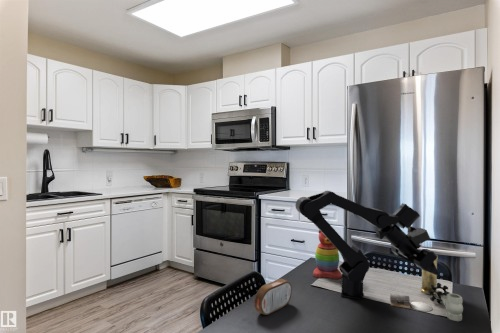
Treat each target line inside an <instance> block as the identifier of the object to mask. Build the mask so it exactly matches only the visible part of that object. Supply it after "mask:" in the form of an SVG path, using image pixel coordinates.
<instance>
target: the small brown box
mask: <svg viewBox="0 0 500 333" xmlns="http://www.w3.org/2000/svg"><path fill="white" fill-rule="evenodd" d="M410 299H411V298H410V295H405V294H396V293H390V294H389V302H390V306H391V307H396V308H397V307H398V308H404V309H411V306H410V303H411V302H410Z"/></svg>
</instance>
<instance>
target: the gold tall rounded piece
mask: <svg viewBox="0 0 500 333" xmlns="http://www.w3.org/2000/svg"><path fill="white" fill-rule="evenodd" d="M436 255H437V258H436V259H435V260H434V264H435V266H436V268H437V269H438V259H439V258H438V257H439V255H438V254H436ZM437 278H438V275H435V274H432V273H430V272H428V271H425V270H423V269H421V287H420V292H421V293H422V294H424V295H427V296H430V295H429V294H428V293H427V292H428V291H432V288H431V287H430V286H431V285H433V286H435V287H436V286H437V283H438V281H437ZM435 291H438V289H436V290H435ZM434 296H437V295H436V293H435V292H434Z"/></svg>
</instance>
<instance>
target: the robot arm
mask: <svg viewBox="0 0 500 333" xmlns="http://www.w3.org/2000/svg"><path fill="white" fill-rule="evenodd" d="M329 205H334V206H335V207H338V208H339V209H340V208H341V209H343V210H345V211H348V212H349V213H352V214H354V215H356V216H357V217H359V218H361V219H362V220H363V221H365V222H366V223H368V224H370V225H372V226H373V227H375V228H378V229H376V230H375V238H378V239H379V240H382V239H384V238H385V239H386V240H387V241H388V242H389V243H390V249H391V252H392V253H393V254H394V255H397V256H398V257H399V258H401V259H404V260H406V261H408V262H411V263H413V264H415V265H416V267H417V268H419V269H420V270H422V269H423V270H425V271H428V272H430V273H432V274H435V275H437V276H438V274H440V273H439V270H438V267H437V268H436V266H435V264H434V260H435V259H436V258H437V255H438V254H436V253H435V252H434V251H432V250H430V249H427V248H422V249H421V250H420V248H421V247H422V244H423V243H425V242H426V241H429V240H431V237H430V234H429V233H428V231H427V229H424V228H421V227H415V226H412V225H413V224H414V223H416V221H417V220H418V219H419V218H420V217H421V216H420V214H419V212H418V211H417V210H415V209H413V208H412V207H411V206H409V205H407V203H403V202H402V203H401V204H400V205H399V207H398V208H397V209H396V210H395V211H394V212H393V213H390V212H386V211H383V210H380V209H378V208H374V207H369V206H364V205H362V204H359V203H356V202H354V201H352V200H350V199H348V198H345V197H344V196H341V195H339V194H336V193H335V192H333V191H331V190H325V191H323V192H320V193H316V194H314V195H310V196H308V197H306V196H302V197H298V199H297V200H296V202H295V209H296V211H297V212H298V213H299V214H301V215H302V216H304V217H305V218H306V219H308V220H309V222H311V223H313V224H314V225H315V227H316V228H317V229H318V231H319V230H320V231H321V232H322V233H323V234H324V235H325V236H326V238H327V239H328V240H329V241H330V242H331V243H332V244H333V245H334V246H335V247H336V249H337V250H338V253H339V255H341V258H342V259H343V261H342V263H341V264H340V265H338V269H339V271H340V272H341V276H342V277H341V291H340V297H344V298H350V299H357V300H362V296H364V280H365V277H366V275H367V273H368V271H369V269H370V262H369V261H368V260H369V258H368V257H367V256H366V255H365V254H364V253H363V251H362V250H361V249H359V247H357V246H355V245H354V244H353V245H352V246H350V245H349V244H348V243H347V242H346V241H345V239H343V237H342V236H341V235H340V234H339V232H337V231H336V229H334V227H333V226H332V225H331V224H330V223H329V222H328V221H327V219H325V217H324V215H323V214H322V211H321V210H322V209H325V208H326V207H327V206H329ZM402 229H407V234H406V233H405V232H404V231H403V230H402Z"/></svg>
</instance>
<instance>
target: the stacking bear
mask: <svg viewBox="0 0 500 333" xmlns="http://www.w3.org/2000/svg"><path fill="white" fill-rule="evenodd" d="M318 240H319V242H320V243H318V245H317V246H316V249H315V255H314V256H315V258H314V259H315V263H316V268H315V269H314V270H313V272H312V275H313V277H315V278H320V279H321V278H329V279H334V280H340V279H342V272H341V271H340V269H339V264H340V252H339V251H338V250H337V249H336V247H335V246H334V245H333V244H332V243H331V242H330V241H329V240H328V239H327V238H326V236H325V235H324V234H323V233H322V232H321V231H320V230H319V229H318Z"/></svg>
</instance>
